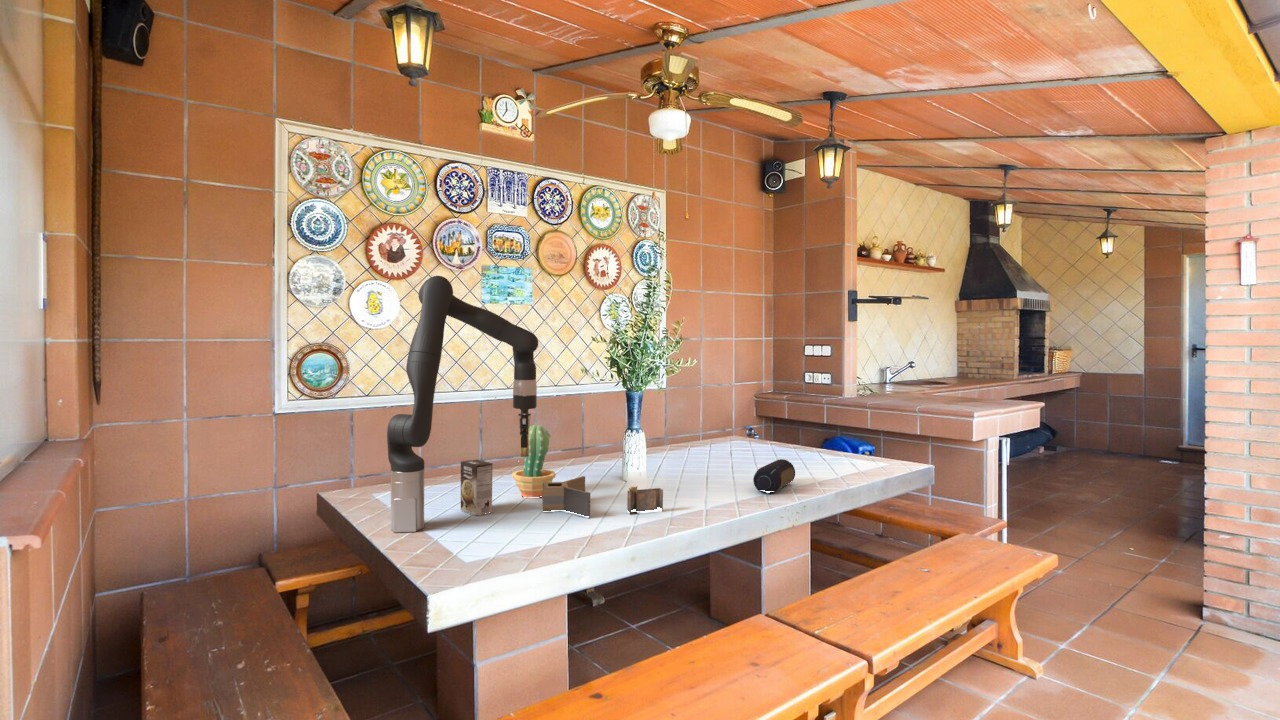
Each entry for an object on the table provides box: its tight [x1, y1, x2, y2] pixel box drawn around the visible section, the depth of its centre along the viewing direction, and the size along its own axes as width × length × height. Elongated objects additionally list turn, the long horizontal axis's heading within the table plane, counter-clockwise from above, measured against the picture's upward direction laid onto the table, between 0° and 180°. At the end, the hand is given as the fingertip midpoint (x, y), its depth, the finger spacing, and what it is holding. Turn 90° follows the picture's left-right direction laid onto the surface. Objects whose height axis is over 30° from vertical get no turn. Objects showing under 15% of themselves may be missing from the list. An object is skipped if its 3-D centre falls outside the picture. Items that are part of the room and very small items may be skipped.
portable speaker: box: [752, 459, 796, 492], centre depth 249 cm, size 25×10×10 cm, turn 149°
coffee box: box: [460, 459, 494, 516], centre depth 211 cm, size 9×6×16 cm
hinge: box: [541, 475, 591, 517], centre depth 216 cm, size 25×15×8 cm, turn 9°
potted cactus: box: [511, 424, 557, 498], centre depth 233 cm, size 15×15×25 cm
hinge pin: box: [519, 429, 529, 458], centre depth 213 cm, size 4×4×11 cm
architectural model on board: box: [626, 485, 664, 512], centre depth 213 cm, size 11×3×10 cm, turn 111°
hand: (524, 446), depth 213 cm, fingers closed on hinge pin, 3 cm apart
